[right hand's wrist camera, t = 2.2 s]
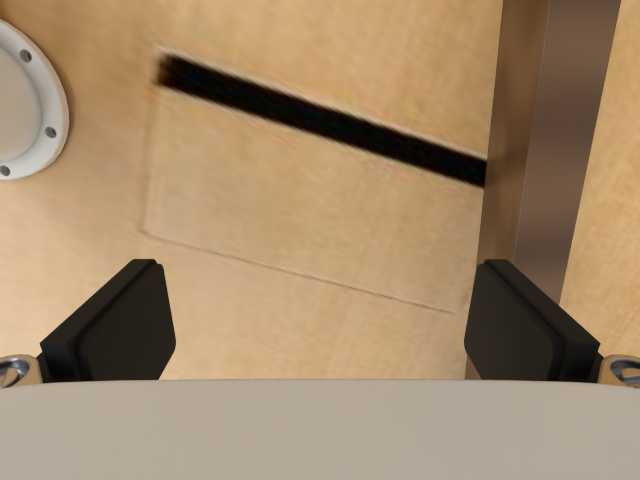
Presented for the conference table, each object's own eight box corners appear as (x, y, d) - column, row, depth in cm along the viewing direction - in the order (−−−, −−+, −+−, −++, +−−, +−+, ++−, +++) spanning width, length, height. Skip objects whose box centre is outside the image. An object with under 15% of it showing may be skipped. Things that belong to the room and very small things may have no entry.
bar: (556, -524, 19) (661, -787, 13) (642, -531, 19) (784, -798, 13) (451, 507, 50) (470, 562, 44) (484, 505, 50) (507, 559, 44)
